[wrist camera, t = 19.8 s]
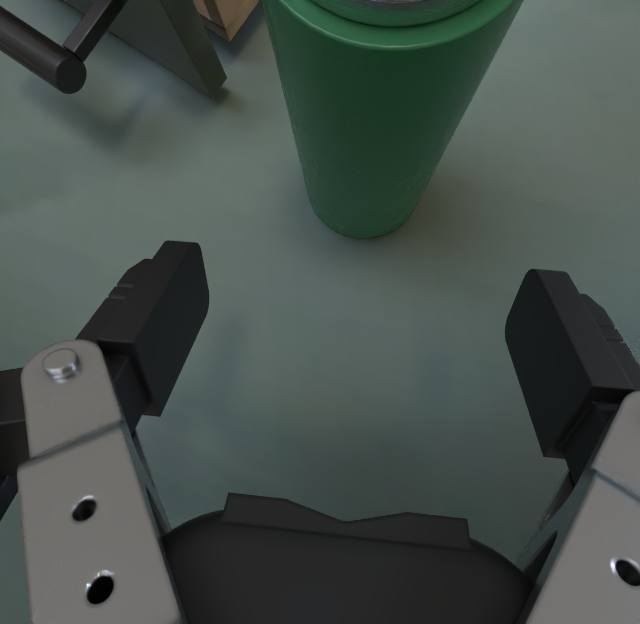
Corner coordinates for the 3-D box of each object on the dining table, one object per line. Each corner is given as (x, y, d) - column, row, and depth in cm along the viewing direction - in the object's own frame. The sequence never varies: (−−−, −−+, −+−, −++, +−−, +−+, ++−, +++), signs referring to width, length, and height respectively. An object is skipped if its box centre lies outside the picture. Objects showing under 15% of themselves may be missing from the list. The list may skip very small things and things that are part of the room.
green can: (443, 167, 20) (648, -197, 6) (378, 260, 20) (452, 86, 6) (348, 107, 20) (358, -348, 7) (284, 198, 20) (169, -87, 7)
